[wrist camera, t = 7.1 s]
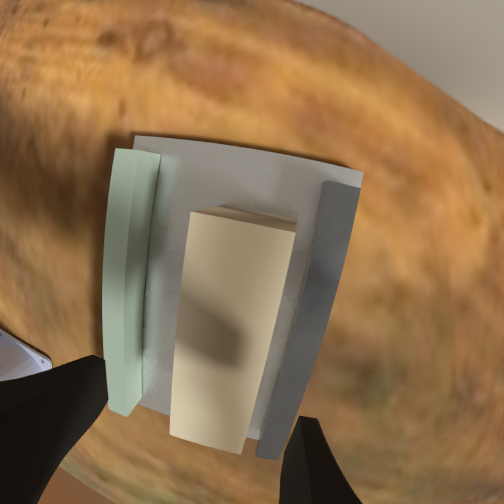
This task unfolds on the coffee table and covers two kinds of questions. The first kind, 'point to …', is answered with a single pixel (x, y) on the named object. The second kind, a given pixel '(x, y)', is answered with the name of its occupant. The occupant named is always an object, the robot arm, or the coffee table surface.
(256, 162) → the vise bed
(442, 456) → the coffee table surface
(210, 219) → the wood bar
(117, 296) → the bar
